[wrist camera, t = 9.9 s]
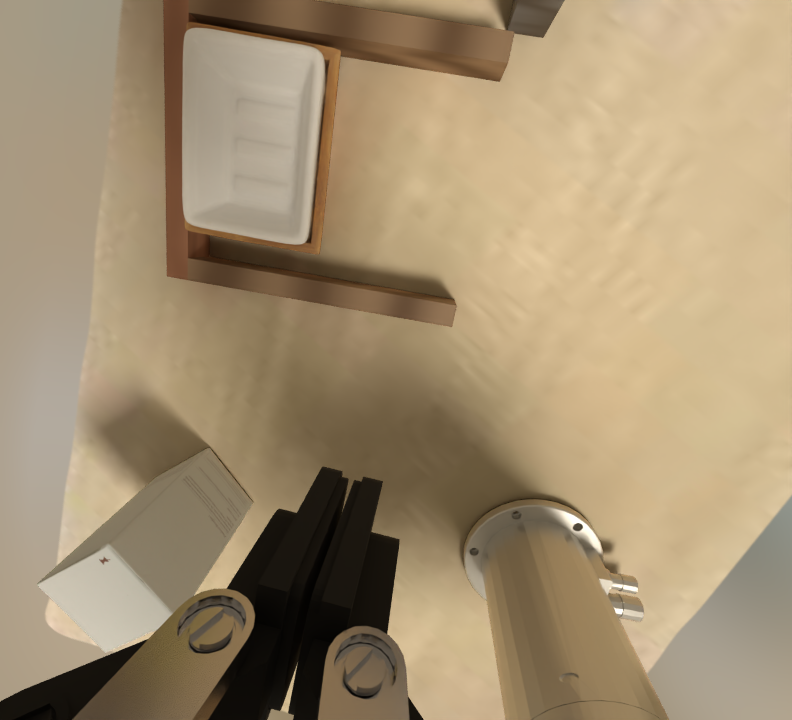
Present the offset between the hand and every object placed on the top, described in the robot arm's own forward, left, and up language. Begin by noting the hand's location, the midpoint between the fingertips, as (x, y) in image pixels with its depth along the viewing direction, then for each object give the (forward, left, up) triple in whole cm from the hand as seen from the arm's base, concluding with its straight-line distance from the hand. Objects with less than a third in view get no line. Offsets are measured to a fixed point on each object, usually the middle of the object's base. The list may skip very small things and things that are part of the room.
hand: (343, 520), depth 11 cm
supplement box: (+16, +19, -23) cm, 34 cm away
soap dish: (+11, -11, -24) cm, 28 cm away
